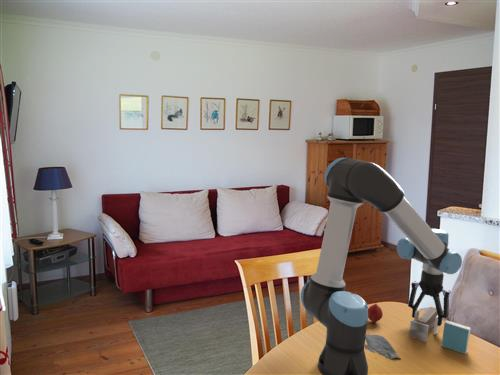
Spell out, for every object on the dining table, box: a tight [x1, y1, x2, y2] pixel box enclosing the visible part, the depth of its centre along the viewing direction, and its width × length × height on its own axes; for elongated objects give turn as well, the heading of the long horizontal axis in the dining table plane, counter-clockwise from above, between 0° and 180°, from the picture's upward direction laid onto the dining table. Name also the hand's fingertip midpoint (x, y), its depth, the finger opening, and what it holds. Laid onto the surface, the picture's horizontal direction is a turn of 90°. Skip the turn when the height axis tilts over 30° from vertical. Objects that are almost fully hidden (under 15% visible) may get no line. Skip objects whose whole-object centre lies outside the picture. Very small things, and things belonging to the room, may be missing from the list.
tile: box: [441, 320, 472, 355], centre depth 154 cm, size 8×2×9 cm, turn 52°
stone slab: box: [364, 333, 401, 360], centre depth 155 cm, size 18×2×10 cm
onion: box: [368, 303, 384, 324], centre depth 171 cm, size 6×6×8 cm
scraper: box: [408, 306, 438, 343], centre depth 167 cm, size 6×18×6 cm, turn 142°
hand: (425, 329), depth 168 cm, fingers open, 7 cm apart
